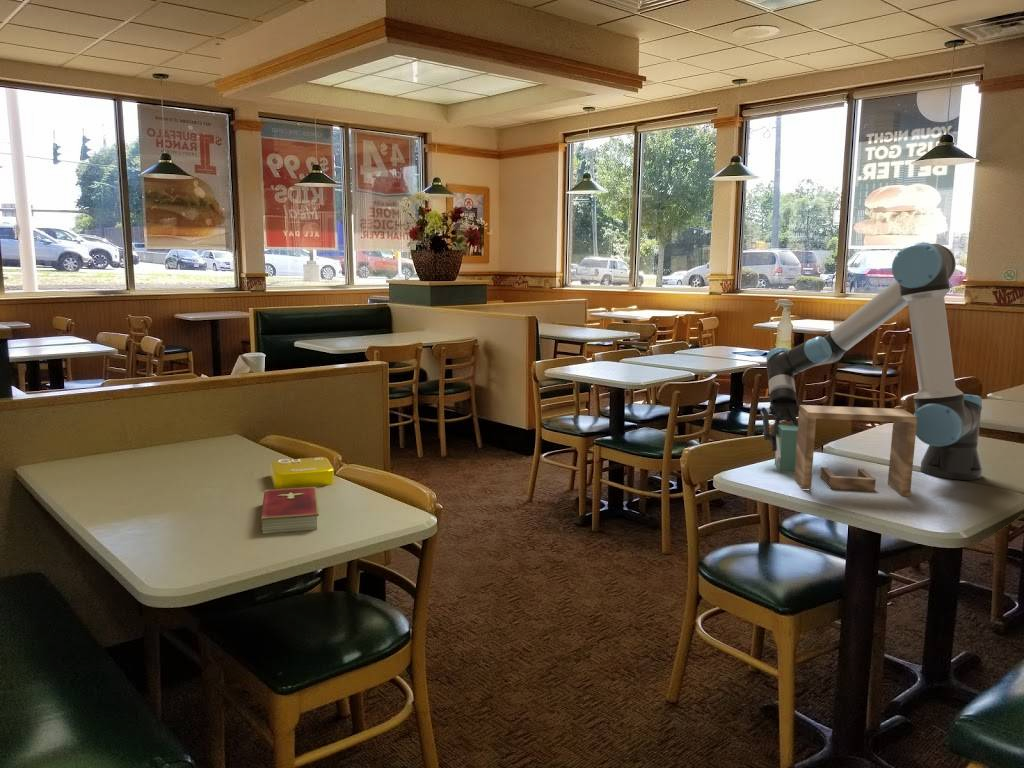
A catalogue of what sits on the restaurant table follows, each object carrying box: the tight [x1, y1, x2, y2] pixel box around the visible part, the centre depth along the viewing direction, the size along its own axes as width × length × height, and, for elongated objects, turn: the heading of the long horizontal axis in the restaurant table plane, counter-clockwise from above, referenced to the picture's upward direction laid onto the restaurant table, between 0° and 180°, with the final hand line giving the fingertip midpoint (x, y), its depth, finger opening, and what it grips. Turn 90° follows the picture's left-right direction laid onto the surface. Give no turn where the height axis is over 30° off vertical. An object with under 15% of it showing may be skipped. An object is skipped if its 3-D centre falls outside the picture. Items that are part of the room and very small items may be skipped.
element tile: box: [269, 456, 335, 489], centre depth 203 cm, size 15×15×5 cm
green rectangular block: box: [774, 423, 798, 473], centre depth 220 cm, size 5×8×12 cm, turn 171°
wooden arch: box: [793, 404, 917, 497], centre depth 203 cm, size 26×14×20 cm, turn 81°
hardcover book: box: [259, 486, 320, 535], centre depth 173 cm, size 12×21×4 cm, turn 15°
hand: (789, 460), depth 217 cm, fingers closed on green rectangular block, 5 cm apart
